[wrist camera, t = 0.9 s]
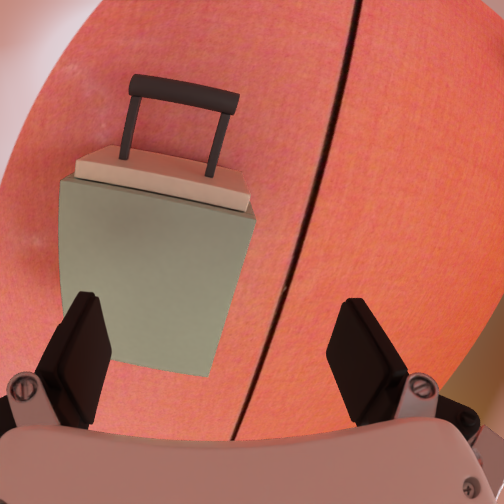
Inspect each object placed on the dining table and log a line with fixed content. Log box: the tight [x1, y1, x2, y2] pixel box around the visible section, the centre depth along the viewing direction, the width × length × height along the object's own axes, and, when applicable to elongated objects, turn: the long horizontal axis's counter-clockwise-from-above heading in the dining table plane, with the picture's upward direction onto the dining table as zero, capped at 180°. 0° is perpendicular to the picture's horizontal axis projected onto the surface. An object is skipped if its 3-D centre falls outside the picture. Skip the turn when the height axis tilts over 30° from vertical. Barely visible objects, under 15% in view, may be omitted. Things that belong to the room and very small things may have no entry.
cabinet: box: [58, 172, 256, 377], centre depth 23 cm, size 15×13×9 cm
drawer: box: [74, 74, 251, 212], centre depth 21 cm, size 19×11×7 cm, turn 163°
